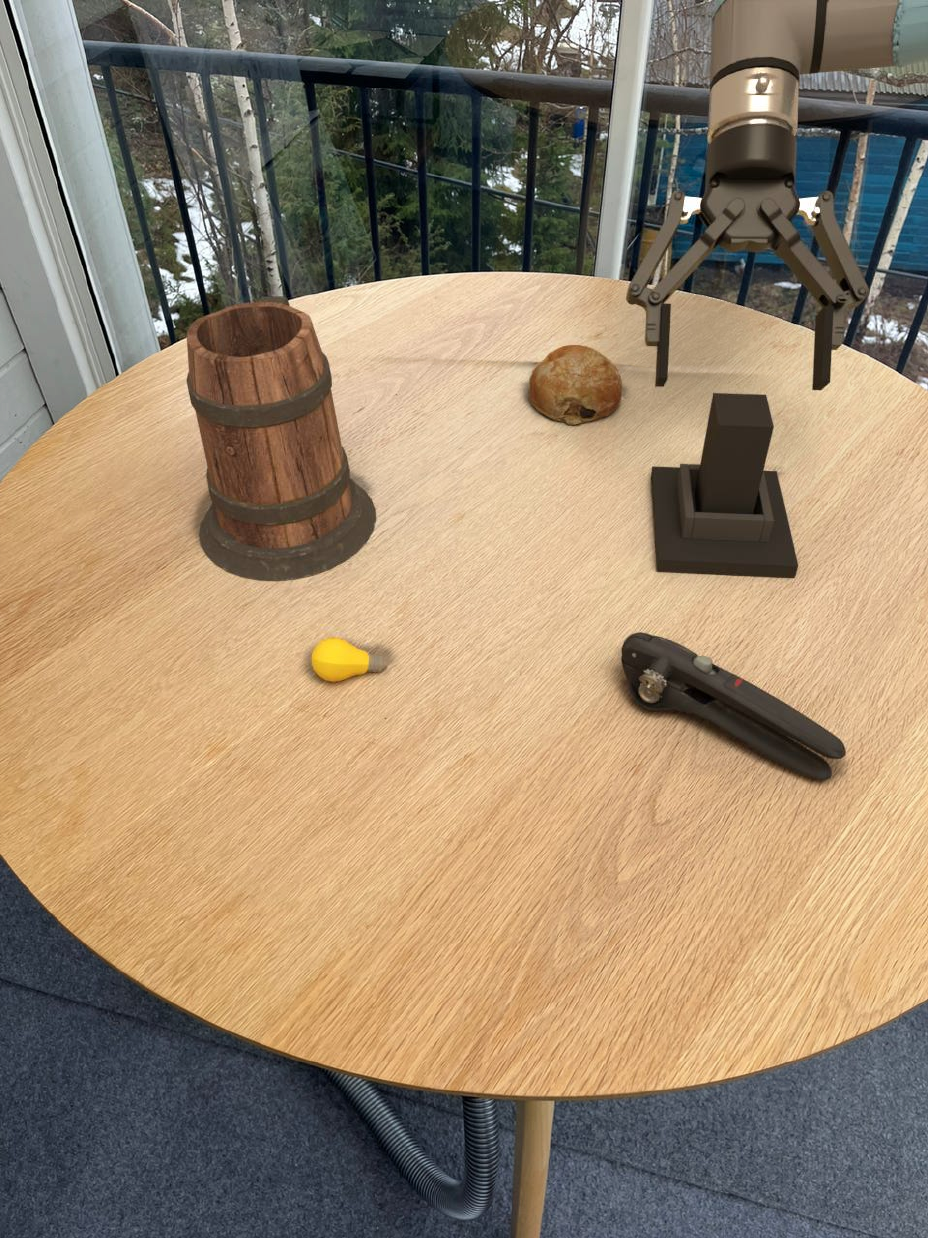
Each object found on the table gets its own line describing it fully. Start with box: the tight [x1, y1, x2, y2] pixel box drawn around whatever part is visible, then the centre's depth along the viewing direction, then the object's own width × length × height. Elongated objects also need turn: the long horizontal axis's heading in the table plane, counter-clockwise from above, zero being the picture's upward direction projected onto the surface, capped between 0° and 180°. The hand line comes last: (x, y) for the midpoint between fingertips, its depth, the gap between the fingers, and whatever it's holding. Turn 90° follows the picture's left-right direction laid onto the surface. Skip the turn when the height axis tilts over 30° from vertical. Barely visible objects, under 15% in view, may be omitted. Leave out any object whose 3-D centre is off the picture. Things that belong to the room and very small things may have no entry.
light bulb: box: [311, 636, 388, 682], centre depth 75 cm, size 3×6×4 cm, turn 96°
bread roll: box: [528, 344, 623, 426], centre depth 102 cm, size 10×10×8 cm
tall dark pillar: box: [695, 392, 775, 514], centre depth 83 cm, size 4×5×11 cm
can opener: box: [620, 631, 847, 782], centre depth 69 cm, size 18×7×6 cm, turn 50°
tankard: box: [186, 295, 377, 582], centre depth 85 cm, size 24×17×20 cm
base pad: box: [650, 463, 799, 579], centre depth 86 cm, size 12×14×4 cm
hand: (740, 385), depth 82 cm, fingers open, 13 cm apart
